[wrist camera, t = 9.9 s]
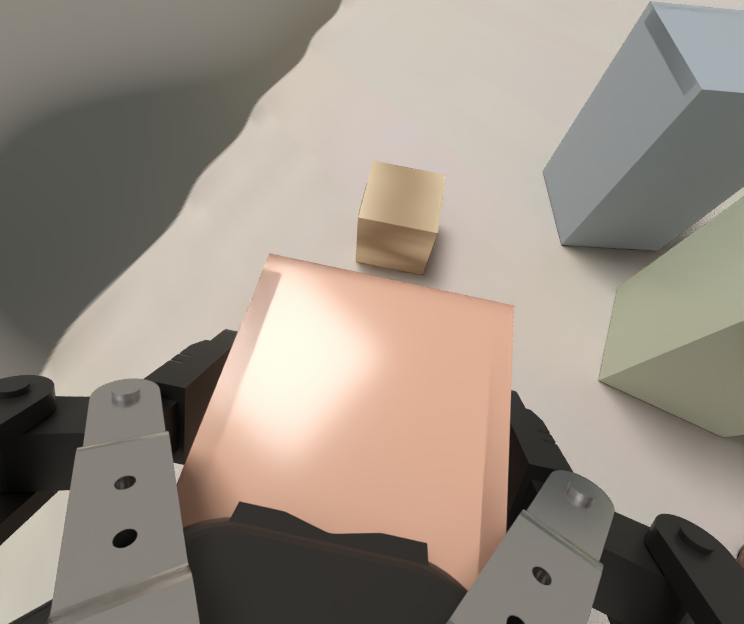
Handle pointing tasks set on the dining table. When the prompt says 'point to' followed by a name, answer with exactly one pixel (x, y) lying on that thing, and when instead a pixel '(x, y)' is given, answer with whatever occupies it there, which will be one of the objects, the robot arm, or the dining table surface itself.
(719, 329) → the pale green bevelled block
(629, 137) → the blue grey bevelled block
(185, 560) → the robot arm
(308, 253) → the dining table surface
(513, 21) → the dining table surface
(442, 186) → the tan cube
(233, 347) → the peach pink block
